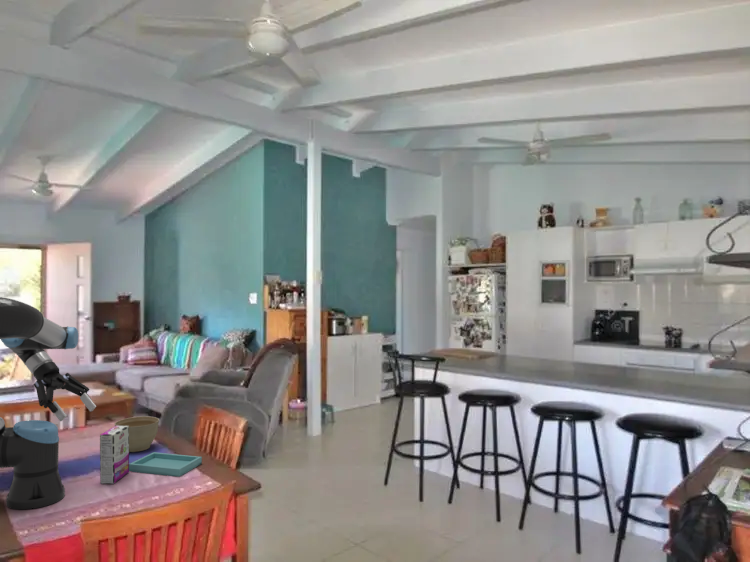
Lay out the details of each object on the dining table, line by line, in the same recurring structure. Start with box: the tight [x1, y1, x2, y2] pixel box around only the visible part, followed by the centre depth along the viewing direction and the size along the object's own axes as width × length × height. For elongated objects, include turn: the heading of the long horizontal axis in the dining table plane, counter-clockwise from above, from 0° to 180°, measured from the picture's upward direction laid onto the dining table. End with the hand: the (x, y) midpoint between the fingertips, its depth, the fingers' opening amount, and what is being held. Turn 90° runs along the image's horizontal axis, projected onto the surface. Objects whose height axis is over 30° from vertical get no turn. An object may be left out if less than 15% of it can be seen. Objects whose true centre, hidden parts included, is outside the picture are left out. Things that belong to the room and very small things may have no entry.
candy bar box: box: [99, 425, 130, 485], centre depth 190 cm, size 11×5×16 cm, turn 179°
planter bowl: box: [114, 416, 160, 453], centre depth 222 cm, size 16×16×11 cm
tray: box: [129, 451, 203, 478], centre depth 201 cm, size 14×20×2 cm
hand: (79, 413), depth 194 cm, fingers open, 13 cm apart
